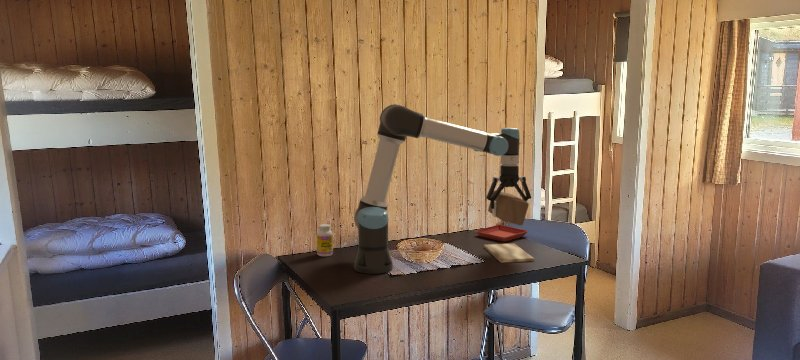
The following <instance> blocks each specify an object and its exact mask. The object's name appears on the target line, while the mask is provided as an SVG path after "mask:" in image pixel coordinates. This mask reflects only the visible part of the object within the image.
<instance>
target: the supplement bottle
mask: <svg viewBox="0 0 800 360" xmlns="http://www.w3.org/2000/svg"><path fill="white" fill-rule="evenodd" d="M318 229H319V230H318V231H317V232H316V254H317V255H318V256H319V257H331V256H332V255H333V253H334V249H333V248H334V245H333V241H334V240H333V239H334V237H333V235H334V234H333V231H332V230H331V224H328V223H322V224H319V225H318Z"/></svg>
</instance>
